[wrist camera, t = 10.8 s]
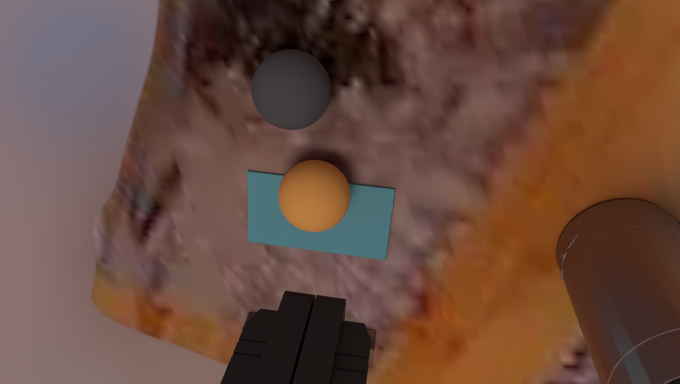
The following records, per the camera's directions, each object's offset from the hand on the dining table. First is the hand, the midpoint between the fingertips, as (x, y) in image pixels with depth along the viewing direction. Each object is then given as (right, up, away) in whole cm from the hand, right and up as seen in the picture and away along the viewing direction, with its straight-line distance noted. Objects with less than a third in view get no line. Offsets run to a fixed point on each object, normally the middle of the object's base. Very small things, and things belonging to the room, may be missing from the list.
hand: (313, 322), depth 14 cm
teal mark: (-1, +1, +33) cm, 33 cm away
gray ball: (-3, +10, +25) cm, 27 cm away
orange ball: (-1, +3, +29) cm, 29 cm away
